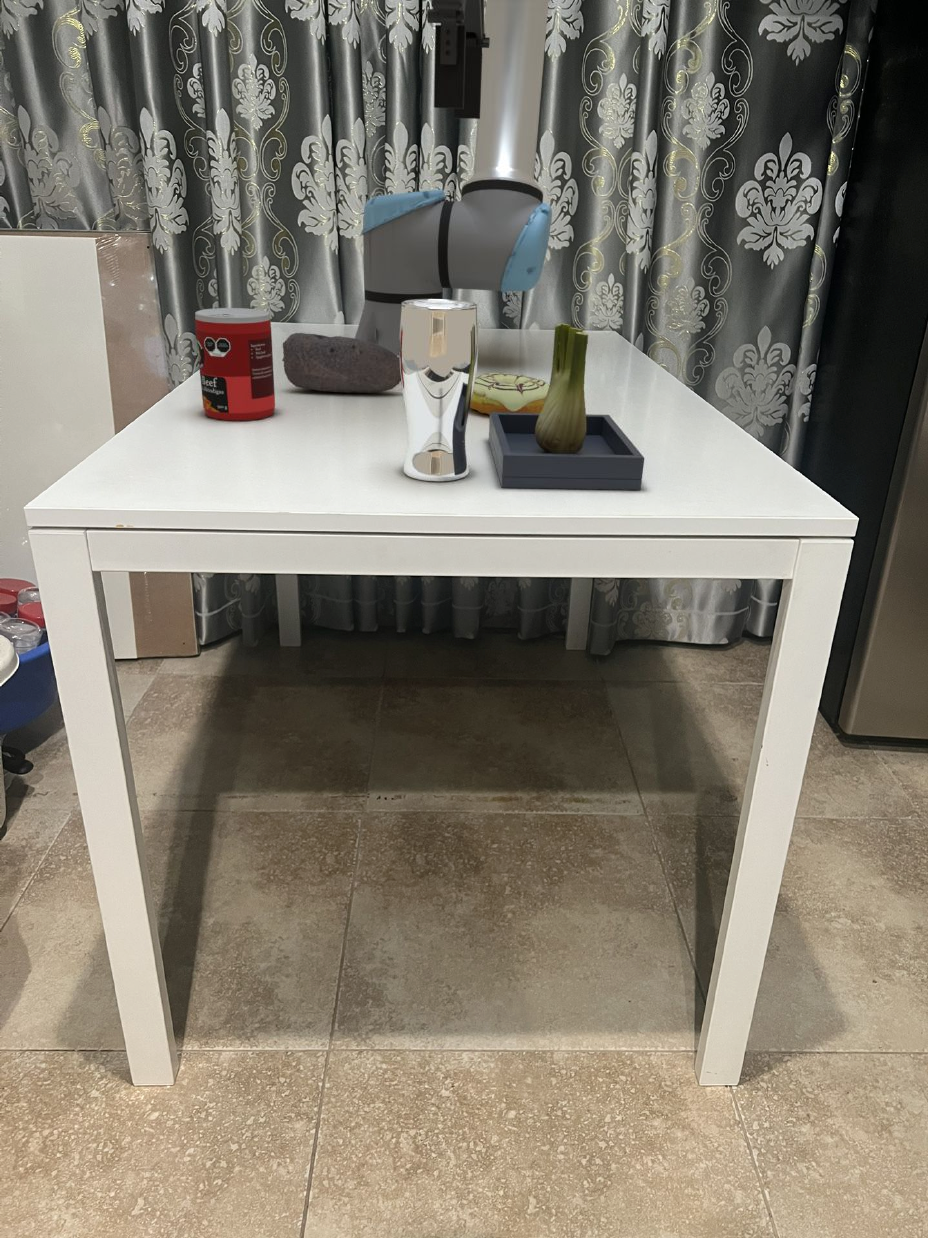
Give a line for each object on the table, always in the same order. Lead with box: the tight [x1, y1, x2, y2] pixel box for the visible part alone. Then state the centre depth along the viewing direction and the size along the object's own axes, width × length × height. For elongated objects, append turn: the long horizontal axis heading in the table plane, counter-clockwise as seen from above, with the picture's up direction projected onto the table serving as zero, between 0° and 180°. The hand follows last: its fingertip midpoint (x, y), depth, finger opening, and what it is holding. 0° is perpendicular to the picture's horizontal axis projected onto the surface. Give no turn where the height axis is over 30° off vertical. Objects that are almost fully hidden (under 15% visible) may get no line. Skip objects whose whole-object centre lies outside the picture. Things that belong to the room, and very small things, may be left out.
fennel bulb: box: [535, 323, 589, 454], centre depth 86 cm, size 6×5×12 cm
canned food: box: [194, 307, 276, 422], centre depth 101 cm, size 8×8×11 cm
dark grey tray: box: [488, 412, 645, 491], centre depth 88 cm, size 17×13×3 cm
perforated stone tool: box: [281, 332, 401, 394], centre depth 114 cm, size 15×5×7 cm, turn 84°
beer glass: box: [399, 298, 479, 482], centre depth 81 cm, size 7×7×15 cm
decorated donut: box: [470, 372, 550, 416], centre depth 108 cm, size 10×11×4 cm
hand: (458, 113), depth 91 cm, fingers open, 13 cm apart
